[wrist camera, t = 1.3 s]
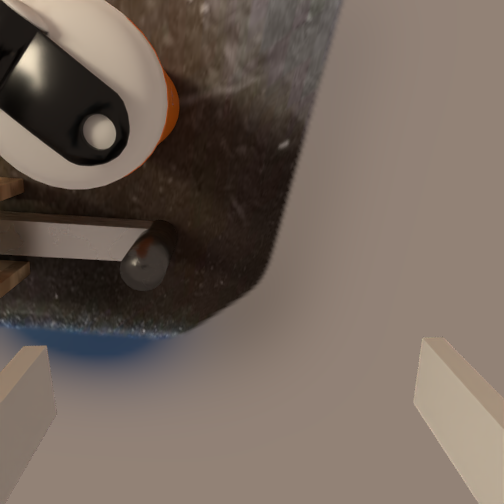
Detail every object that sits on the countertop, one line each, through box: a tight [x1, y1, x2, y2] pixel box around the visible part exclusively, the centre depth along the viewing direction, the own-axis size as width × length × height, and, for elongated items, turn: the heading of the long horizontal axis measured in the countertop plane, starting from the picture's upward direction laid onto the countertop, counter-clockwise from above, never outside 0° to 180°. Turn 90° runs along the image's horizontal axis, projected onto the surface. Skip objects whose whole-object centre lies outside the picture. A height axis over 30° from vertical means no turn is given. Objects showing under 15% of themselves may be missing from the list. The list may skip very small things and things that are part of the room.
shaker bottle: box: [0, 0, 180, 189], centre depth 27 cm, size 9×9×20 cm
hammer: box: [0, 211, 177, 291], centre depth 35 cm, size 18×3×9 cm, turn 85°
